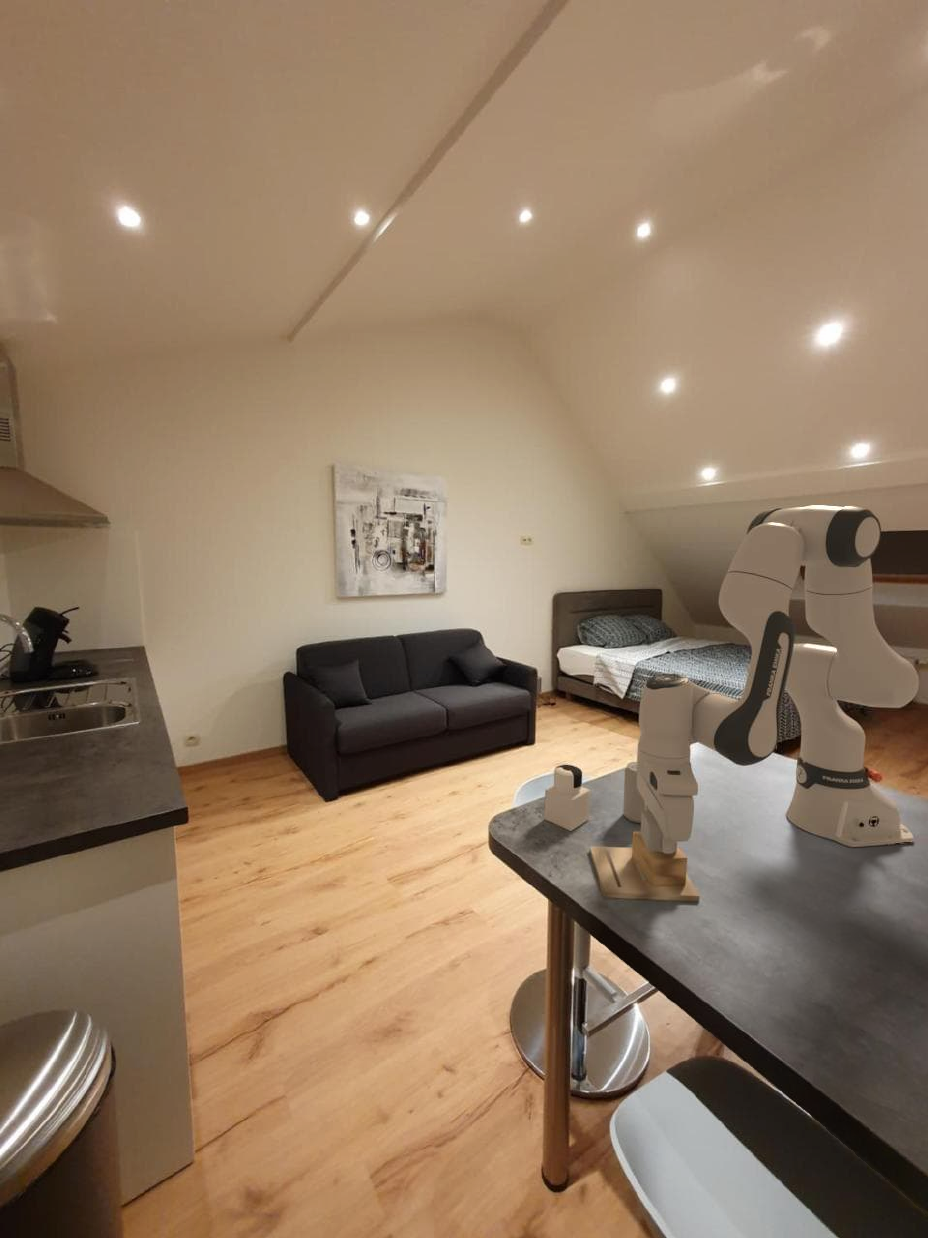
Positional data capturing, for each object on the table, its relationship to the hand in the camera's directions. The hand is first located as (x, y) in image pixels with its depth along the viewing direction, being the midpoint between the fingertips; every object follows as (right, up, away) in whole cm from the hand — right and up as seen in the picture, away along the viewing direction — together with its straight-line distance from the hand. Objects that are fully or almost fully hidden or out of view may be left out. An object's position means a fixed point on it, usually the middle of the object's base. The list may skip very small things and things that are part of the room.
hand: (658, 837), depth 96 cm
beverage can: (+3, -5, +22) cm, 22 cm away
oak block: (0, -6, +1) cm, 6 cm away
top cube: (0, -1, 0) cm, 1 cm away
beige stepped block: (-13, -5, +21) cm, 25 cm away
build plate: (-3, -7, +1) cm, 8 cm away
